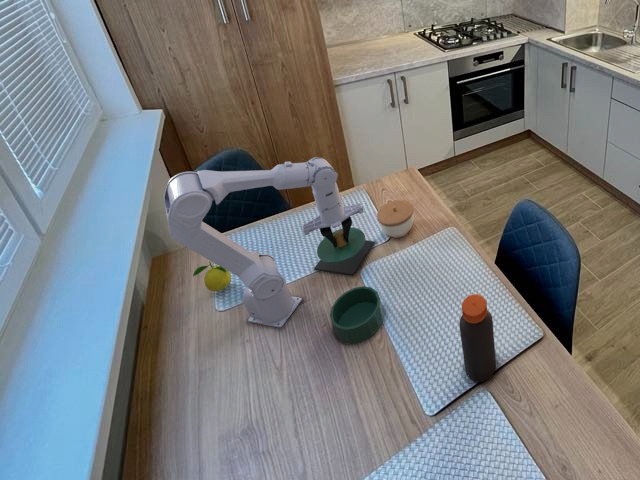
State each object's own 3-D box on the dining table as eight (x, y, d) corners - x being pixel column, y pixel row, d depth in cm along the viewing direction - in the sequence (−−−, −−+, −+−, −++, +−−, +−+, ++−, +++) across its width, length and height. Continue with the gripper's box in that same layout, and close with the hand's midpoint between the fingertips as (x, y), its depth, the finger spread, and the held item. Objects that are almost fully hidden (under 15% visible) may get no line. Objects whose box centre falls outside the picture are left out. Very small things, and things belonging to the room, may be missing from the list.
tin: (325, 339, 95) (320, 324, 92) (351, 298, 104) (347, 283, 102) (369, 348, 92) (364, 332, 90) (391, 304, 102) (387, 290, 100)
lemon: (202, 294, 107) (188, 267, 103) (224, 276, 112) (211, 250, 107) (219, 302, 105) (205, 275, 100) (240, 284, 109) (228, 257, 105)
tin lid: (307, 261, 105) (303, 248, 103) (335, 227, 115) (331, 215, 113) (349, 268, 102) (345, 255, 100) (374, 233, 113) (371, 220, 111)
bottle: (500, 356, 90) (496, 294, 81) (489, 387, 84) (483, 325, 75) (472, 347, 92) (465, 286, 83) (459, 377, 86) (450, 314, 77)
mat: (314, 269, 113) (313, 268, 113) (339, 238, 124) (338, 236, 123) (353, 275, 111) (352, 274, 110) (374, 243, 121) (374, 241, 121)
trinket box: (380, 246, 120) (374, 222, 116) (382, 221, 129) (376, 198, 125) (417, 239, 122) (412, 215, 118) (416, 215, 131) (412, 192, 127)
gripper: (300, 223, 96) (314, 264, 102) (362, 200, 103) (372, 239, 108) (296, 207, 101) (309, 247, 107) (355, 185, 108) (365, 224, 114)
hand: (340, 242), depth 108 cm, fingers closed on tin lid, 2 cm apart
